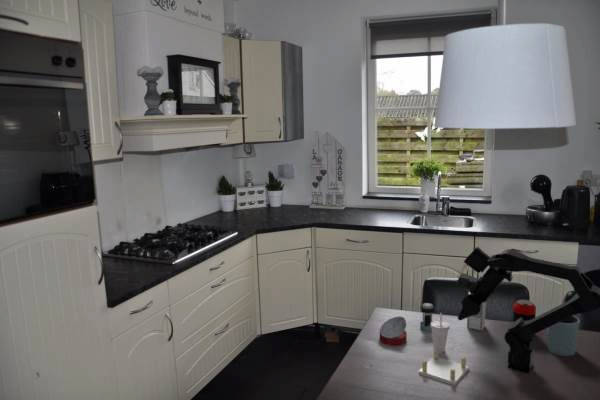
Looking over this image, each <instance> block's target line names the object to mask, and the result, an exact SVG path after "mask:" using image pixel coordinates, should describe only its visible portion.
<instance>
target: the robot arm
mask: <svg viewBox="0 0 600 400" xmlns="http://www.w3.org/2000/svg"><path fill="white" fill-rule="evenodd" d="M463 263H464V264H465V265H467V266H468V267H469V268H470V269H472V270H473V271H475V272H476V273H477V274H480V273H483V272H484V271H485V270H486V269H487V268H488V267H489V268H488V269H487V270H486V271H485V273H484V274H482V276H480V277H479V278H477V277H475V276H472V275H469V274H466V273H463V272H462V273H460V275H459V276H458V278H457V283H456V285H457V286H458V287H462V288H465V289H467V290H468V289H469V290H468V293H469V292H470V293H471V294H470V295H468V294H466V295H465V296H464V297H463V298H462V300H461V301H460V304H461V306H462V308H461V311H460V312H459V315H457V320H458V321H463V320H464V319H467V317H470V316H473V315H477V314H478V313H479V312H480V311H481V309H482V307H483V306H482V303H483V302H484V303H485V302H486V303H487V301H488V299H489V298H490V297H491V295H493V294H494V293H495V291H496V290H497V289H498V287H499V286H500V285H501V284H502V283H503V281H504V280H506V281H508V282H510V283H511V282H512V280H513V279H514V277H513V272H516V273H517V272H530V273H534V274H539V275H543V276H548V277H553V278H557V279H562V280H566V281H568V282H569V284H570V285H571V286H572V287H573V289H574V291H575V295H573V296H572V297H571V298H570V299H569V300H568V301H565V302H563V303H562V304H559V305H558V306H556V307H553V308H552V309H551V308H550V310H547V311H545V312H544V313H542V314H540V315H538V316H535V318H533V319H531V320H528V321H523V319H522V317H521V318H519V319H518V320H517V321H514V322H513V321H511V322H510V323H509V326H508V328H507V330H506V331H505V334H504V341H505V342H506V344H507V345H508V346H509V350H508V352H507V364H508V365H507V368H508V369H511V370H515V371H519V372H522V373H525V374H529V373H530V372H531V371H532V369H533V367H534V364H533V355H534V354H533V353H534V350H533V349H532V346H533V343H534V339H533V338H532V337H533V336H535V335H536V334H537V333H540V332H542V331H544V330H547V328H548V327H550V326H552V325H554V324H556V323H559V322H561V321H563V320H565V319H567V318H569V317H571V316H573V315H574V316H576V315H578V314H588V313H591V312H594V311H598V310H600V287H599V286H597V285H594V283H593V282H592V281H591V280H590V279H589V278H588V276H587V275H586V274H584V273H583V271H582V270H581V268H579V266H576V265H568V264H563V263H559V262H553V261H548V260H545V259H538V258H534V257H531V256H528V255H526V254H524V253H523V252H520V251H517V250H514V249H511V248H507V249H505V250H503V251H502V252H500V253H497V254H496V253H495V254H492V255H491V256H490V255H489V254H487V253H486V252H485V251H483V250H482V249H481V248H480V247H479V246H476V247H475V248H474V250H473V251H471V253H470V254H468V256H467V257H466V258H465V259H464V260H463Z"/></svg>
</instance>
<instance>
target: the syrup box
mask: <svg viewBox="0 0 600 400" xmlns="http://www.w3.org/2000/svg"><path fill="white" fill-rule="evenodd" d="M470 294H471V293H470V292H469V291H468V293H467V295H470ZM486 304H487V301H486V302H485V303H484V302H483V303H482V306H483V307H482V309H481V311H480V312H479V313H478V314H477V315H473V316H470V317H467V318H466V322H467V323H466V328H467V329H470V330H474V331H480V332H482V331H483V330H484V328H485V326H486Z"/></svg>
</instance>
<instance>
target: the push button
mask: <svg viewBox="0 0 600 400" xmlns="http://www.w3.org/2000/svg"><path fill="white" fill-rule="evenodd" d="M419 307H420V311H421V312H422V320H421V321H420V324H419V325H420V329H421V331H432V328H431V322H433V321H434V320H433V313H435V309H436V307H435V306H434V305H433V303H430V302H424V303H423V304H422V305H420V306H419Z"/></svg>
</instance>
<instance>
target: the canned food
mask: <svg viewBox="0 0 600 400" xmlns="http://www.w3.org/2000/svg"><path fill="white" fill-rule="evenodd" d="M406 328H407V322H406V319H405V317H402V316H394V317H391V318H389V319H388V320H386V321H385V322H384V323H383V324H381V327H380V329H379V342H380V343H382V344H384V345H386V346H392V347H398V346H403V345H405V344H406V343H407V342H408V341H407V339H408V338H407V337H408V336H407V335H408V334H407V331H406Z"/></svg>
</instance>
